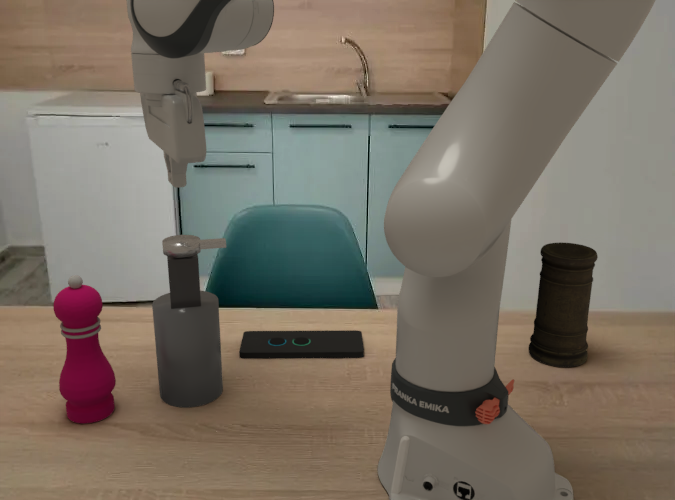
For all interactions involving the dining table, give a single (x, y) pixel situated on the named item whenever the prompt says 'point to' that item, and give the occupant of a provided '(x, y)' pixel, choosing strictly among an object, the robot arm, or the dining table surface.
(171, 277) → the dispenser
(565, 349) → the container
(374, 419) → the dining table surface
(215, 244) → the pump head
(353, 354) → the smart home device
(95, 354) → the pepper mill
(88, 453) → the dining table surface
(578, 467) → the dining table surface
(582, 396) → the dining table surface
